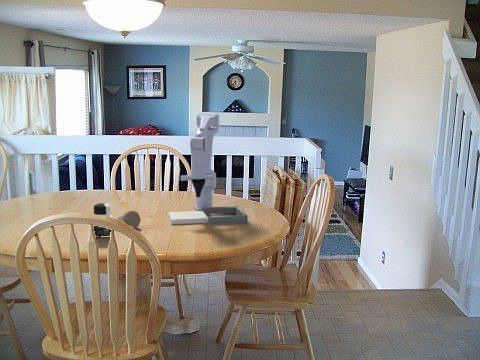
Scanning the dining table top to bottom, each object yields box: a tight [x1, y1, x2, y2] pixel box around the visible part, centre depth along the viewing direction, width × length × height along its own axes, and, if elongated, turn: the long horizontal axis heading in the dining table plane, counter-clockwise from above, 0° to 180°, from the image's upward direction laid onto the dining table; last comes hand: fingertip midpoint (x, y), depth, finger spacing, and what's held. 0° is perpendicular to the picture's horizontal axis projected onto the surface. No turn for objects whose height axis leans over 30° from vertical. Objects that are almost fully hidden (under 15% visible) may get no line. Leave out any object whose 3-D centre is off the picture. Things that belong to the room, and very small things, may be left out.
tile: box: [208, 213, 227, 216], centre depth 220 cm, size 6×6×2 cm
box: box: [201, 205, 249, 225], centre depth 220 cm, size 17×16×3 cm
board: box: [167, 210, 208, 225], centre depth 216 cm, size 12×15×2 cm
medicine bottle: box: [93, 202, 113, 237], centre depth 191 cm, size 7×7×12 cm
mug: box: [117, 210, 141, 229], centre depth 203 cm, size 8×10×10 cm
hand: (198, 196), depth 217 cm, fingers closed
